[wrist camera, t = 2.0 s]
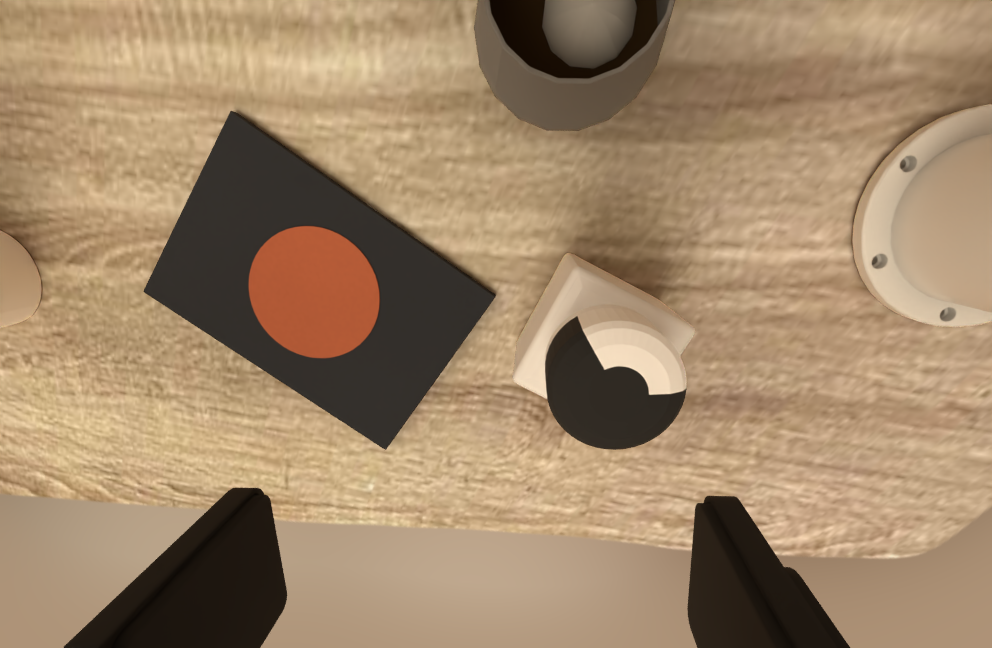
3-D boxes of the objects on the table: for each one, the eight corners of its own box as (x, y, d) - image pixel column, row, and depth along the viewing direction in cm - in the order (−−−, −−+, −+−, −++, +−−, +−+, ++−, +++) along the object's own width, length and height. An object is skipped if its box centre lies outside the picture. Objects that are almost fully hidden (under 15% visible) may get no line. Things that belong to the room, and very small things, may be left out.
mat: (496, 294, 32) (495, 297, 31) (387, 445, 35) (385, 450, 34) (236, 112, 30) (229, 110, 29) (149, 290, 33) (141, 292, 33)
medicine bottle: (606, 390, 33) (646, 495, 21) (514, 343, 32) (504, 423, 21) (662, 301, 31) (741, 362, 19) (566, 250, 31) (586, 281, 19)
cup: (582, -81, 26) (611, -247, 16) (678, 65, 27) (757, -9, 18) (450, 43, 28) (407, -39, 18) (546, 172, 29) (553, 159, 20)
